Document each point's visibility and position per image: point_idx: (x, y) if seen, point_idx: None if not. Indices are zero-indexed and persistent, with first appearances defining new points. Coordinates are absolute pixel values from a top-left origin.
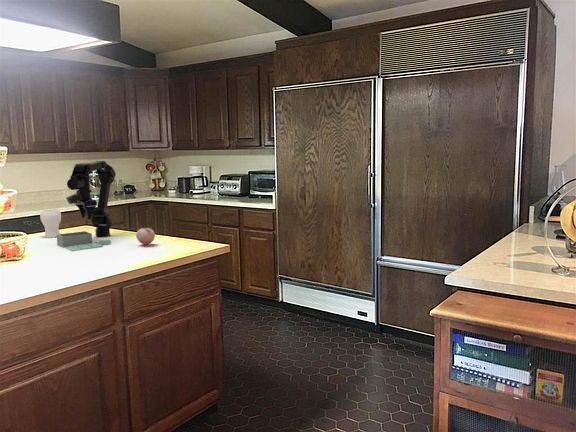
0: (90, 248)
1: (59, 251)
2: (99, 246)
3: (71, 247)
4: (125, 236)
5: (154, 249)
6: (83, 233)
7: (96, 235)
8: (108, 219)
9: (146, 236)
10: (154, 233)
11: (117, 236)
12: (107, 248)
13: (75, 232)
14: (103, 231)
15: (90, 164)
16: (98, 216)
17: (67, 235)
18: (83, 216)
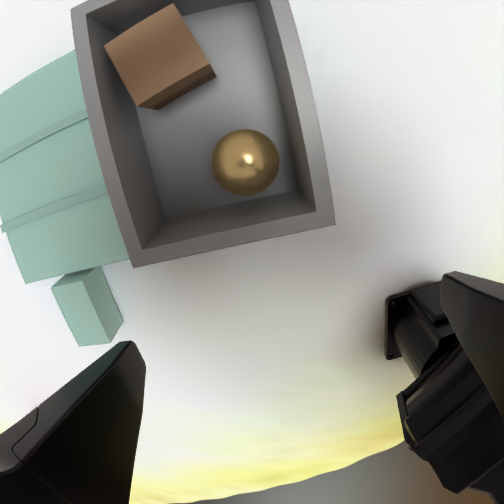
0: (3, 211)
1: (55, 27)
2: (19, 263)
3: (49, 92)
4: (361, 410)
5: (8, 411)
6: (312, 199)
7: (429, 291)
8: (408, 445)
9: None
10: None
11: (392, 381)
12: (33, 295)
13: (304, 118)
14: (408, 348)
15: None
16: (456, 418)
17: (277, 40)
18: (449, 302)
